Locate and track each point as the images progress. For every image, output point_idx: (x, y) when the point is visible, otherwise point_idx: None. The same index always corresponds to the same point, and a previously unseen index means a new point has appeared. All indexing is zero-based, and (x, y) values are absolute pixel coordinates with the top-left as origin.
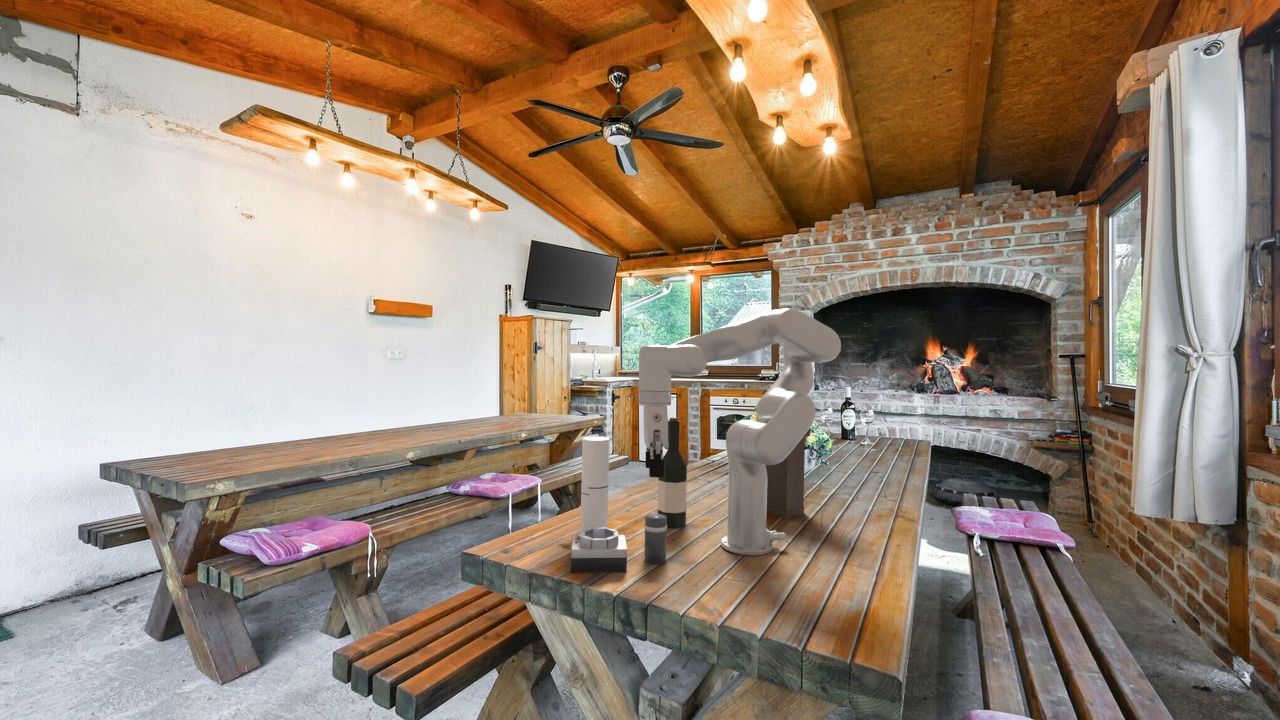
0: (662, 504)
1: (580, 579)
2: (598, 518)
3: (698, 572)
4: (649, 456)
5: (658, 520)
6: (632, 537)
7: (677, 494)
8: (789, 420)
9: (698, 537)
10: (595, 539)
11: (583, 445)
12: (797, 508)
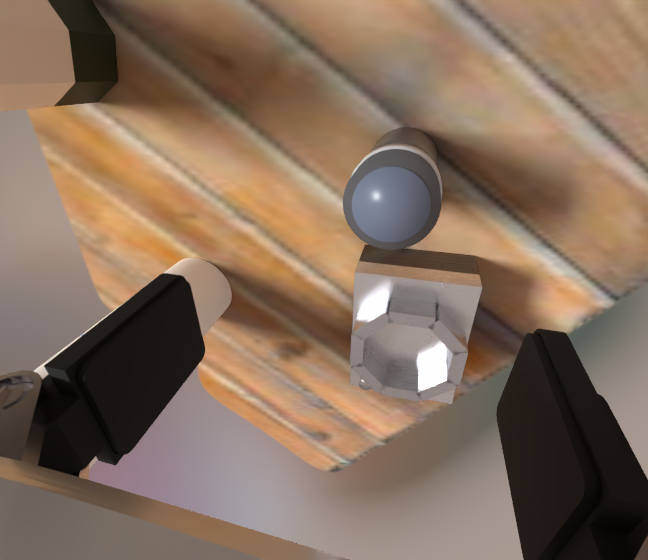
0: (44, 92)
1: (489, 353)
2: (204, 308)
3: (544, 15)
4: (145, 403)
5: (440, 203)
6: (222, 199)
7: None
8: None
9: None
10: (458, 377)
11: None
12: None
